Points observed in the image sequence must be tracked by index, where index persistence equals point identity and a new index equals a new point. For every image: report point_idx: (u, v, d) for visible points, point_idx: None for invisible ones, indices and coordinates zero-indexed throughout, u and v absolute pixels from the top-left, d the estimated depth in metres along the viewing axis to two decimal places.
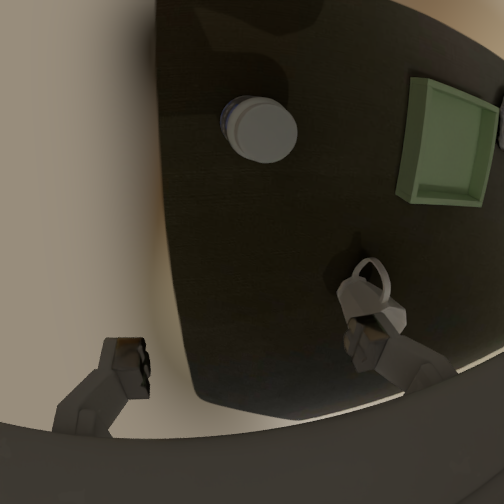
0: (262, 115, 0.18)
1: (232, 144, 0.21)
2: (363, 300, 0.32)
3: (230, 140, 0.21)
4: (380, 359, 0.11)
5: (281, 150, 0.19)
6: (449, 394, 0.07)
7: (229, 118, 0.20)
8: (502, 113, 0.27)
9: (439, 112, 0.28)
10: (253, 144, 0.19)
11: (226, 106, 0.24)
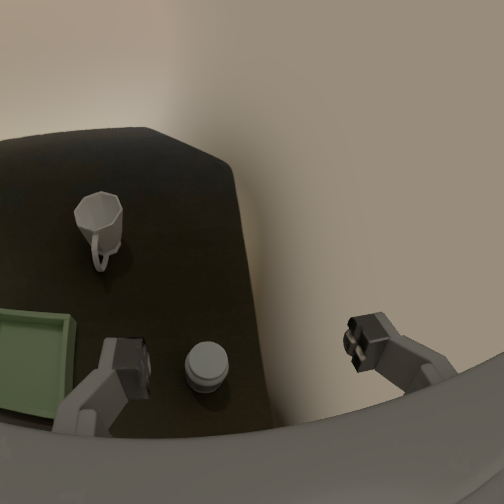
0: (213, 370, 0.29)
1: None
2: (109, 237, 0.39)
3: None
4: (380, 359, 0.11)
5: (198, 349, 0.30)
6: (449, 394, 0.07)
7: (227, 370, 0.32)
8: None
9: (40, 393, 0.29)
10: (216, 352, 0.30)
11: (221, 383, 0.35)
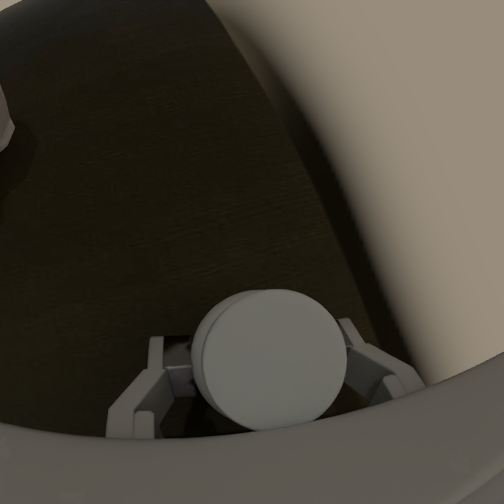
0: (308, 397, 0.08)
1: None
2: None
3: None
4: None
5: (230, 336, 0.08)
6: (449, 394, 0.07)
7: None
8: None
9: None
10: (301, 324, 0.08)
11: None
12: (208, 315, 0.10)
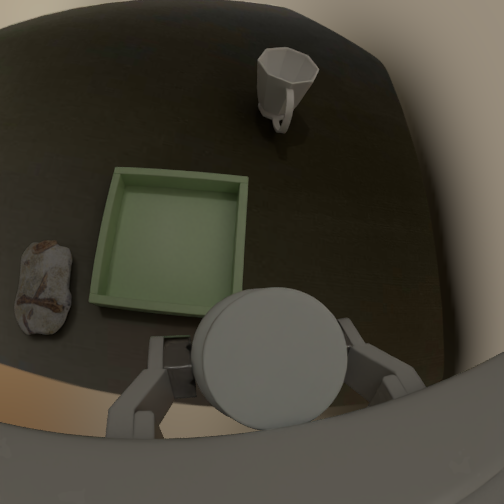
0: (309, 395, 0.08)
1: None
2: (297, 97, 0.32)
3: None
4: None
5: (231, 334, 0.08)
6: (449, 394, 0.07)
7: None
8: (69, 296, 0.25)
9: (190, 282, 0.29)
10: (301, 322, 0.08)
11: None
12: (208, 313, 0.10)
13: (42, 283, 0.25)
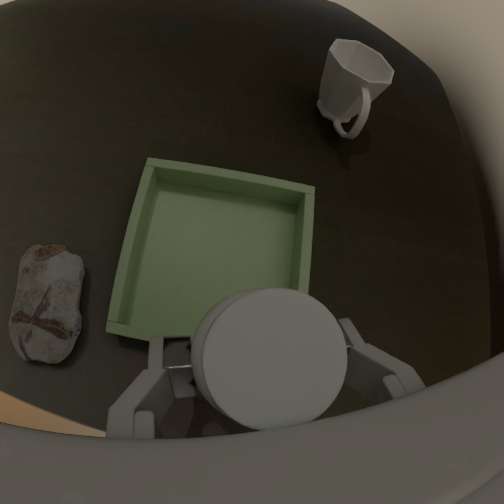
0: (309, 395, 0.08)
1: None
2: None
3: None
4: None
5: (230, 334, 0.08)
6: (449, 394, 0.07)
7: None
8: (78, 319, 0.20)
9: None
10: (301, 322, 0.08)
11: None
12: (208, 314, 0.10)
13: (44, 299, 0.19)
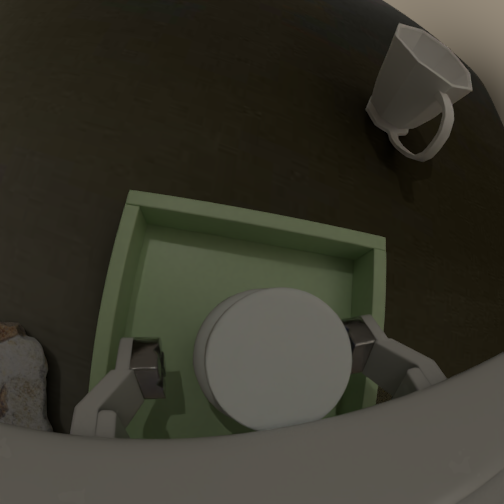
0: (313, 397, 0.07)
1: None
2: (440, 107, 0.17)
3: None
4: (367, 362, 0.11)
5: (234, 335, 0.08)
6: (449, 394, 0.07)
7: None
8: None
9: None
10: (306, 323, 0.08)
11: None
12: (211, 314, 0.10)
13: None
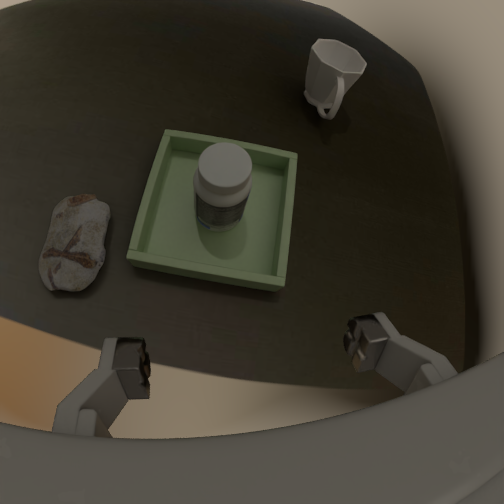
0: (236, 175, 0.22)
1: None
2: (345, 87, 0.32)
3: None
4: (380, 359, 0.11)
5: (208, 154, 0.22)
6: (449, 394, 0.07)
7: (251, 181, 0.25)
8: (103, 252, 0.26)
9: (233, 250, 0.29)
10: (234, 152, 0.22)
11: (243, 212, 0.29)
12: None
13: (75, 236, 0.25)
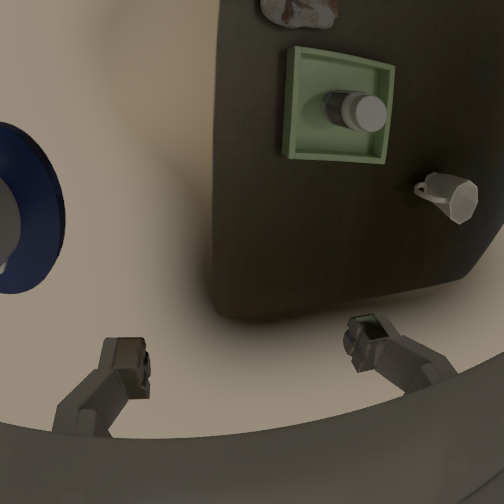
0: (364, 121, 0.28)
1: None
2: (440, 204, 0.40)
3: None
4: (380, 359, 0.11)
5: (377, 102, 0.28)
6: (449, 394, 0.07)
7: None
8: (295, 27, 0.28)
9: (309, 120, 0.36)
10: (379, 119, 0.28)
11: (337, 125, 0.35)
12: None
13: (304, 5, 0.26)
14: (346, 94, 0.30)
